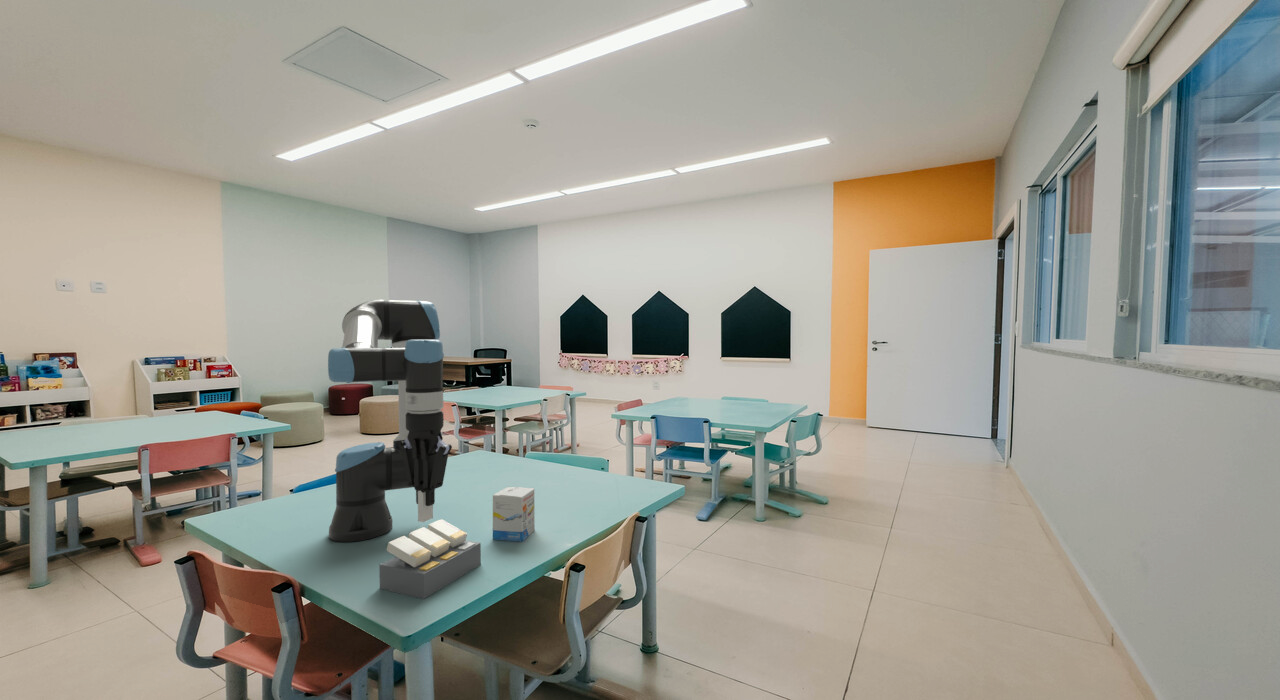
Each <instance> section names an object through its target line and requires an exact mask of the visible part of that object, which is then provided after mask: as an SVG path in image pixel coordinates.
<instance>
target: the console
mask: <svg viewBox="0 0 1280 700" xmlns="http://www.w3.org/2000/svg"><path fill="white" fill-rule="evenodd" d="M481 546H482V543H481V542H477V541H472V540H467V539H466V541H465V542H463V543H461V544H459V545H457V546H455V547H451V546H449V549H448V551H446V552H444V553H442V554H440V555H438V556H436V557H433V556H432V555H430V560H428V561H426V562H424V563H422V564H420V565H419V566H417V567H415V568H414V567H413V566H411V565H410V564H408V563H406V562H405V561H403V560H401V559H400V558H398V557H396V556H394V557H392V558H390V559H388V560H386V561H384V562H382V563H380V564H378V565H379V589H381V590H385V591H389V592H393V593H397V594H401V595H405V596H411V597H414V598H418V599H422V600H423V599H424V600H425V599H426V598H429V596H431V595H434V594H435V593H436V592H438V591H439V590H442V588H443V589H444V587H446V586H448V585H450V584H451V583H453V582H455V581H456V580H457V579H459V578H462V577H463V576H465V575H466V574H467V573H469V572H471V571H473V570H475V568H477V567H479V566H481V564H482V556H481V553H482V551H481V549H482V547H481Z"/></svg>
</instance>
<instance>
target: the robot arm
mask: <svg viewBox="0 0 1280 700" xmlns="http://www.w3.org/2000/svg"><path fill="white" fill-rule="evenodd" d="M439 320H440V319H439V316H438V311H437V307H436V306H435V304H434V303H433V302H431V301H425V300H418V299H417V300H406V299H405V300H401V299H400V300H397V299H396V300H395V299H373V300H369V301H368V300H367V301H366V302H363V303H360V304H358V305H356V306H354V307H352V308H351V309H349V310H348V312H346V313H345V315H344V317H343V319H342V323H341V330H342V332H343V334H344V335H343V340H342V345H341V347H335V348H331V349H330V350H329V351H328V354H327V355H328V356H327V373H328V379H329V380H330V381H331V382H333V383H346V384H350V383H351V384H352V383H370V382H371V383H372V382H394V381H395V382H398V383H397V384H398V388H397V389H398V435H397V436H396V437H395V438H394V439H393V442H392V445H393V446H391V447H386V445H385V443H384V442H382V441H380V442H379V441H378V442H368V443H363V444H357V445H354V446H351V447H348V448H345V449H343V450H341V451H340V452H339V453H337V456H336V458H335V459H336V460H335V461H336V463H335V469H334V472H336V473H335V475H336V476H335V479H336V480H335V483H336V484H335V485H336V486H335V491H336V495H335V496H336V497H335V498H336V499H335V500H336V501H335V503H336V506H335V510H334V514H333V517H332V520H331V523H330V525H329V527H328V539H330V540H331V541H334V542H341V543H350V542H359V541H360V542H361V541H366V540H369V539H374V538H378V537H380V536H382V535H385V534H387V533H388V532H390V531H391V530H392V529H393V517H392V516H391V512H390V509H389V507H388V503H387V501H386V491H394V490H401V489H403V490H404V489H410V488H411V489H412V488H414V490H415V502H416V505H417V522H421V523H425V522H427V521H429V520H432V519H434V505H435V502H436V501H435V500H436V496H435V495H436V493H435V491H436V489H438V488H441V487H442V486H444V485H443V484H444V480H445V475H446V470H447V469H446V468H447V463H448V457H449V454H450V452H451V450H452V449H453V446H452V444H451V443H448V444H446V442H445V441H444V440H443V435H442V432H441V431H442V429H443V428H444V412H443V410H442V409H444V386H443V385H444V380H443V379H444V357H445V354H444V349H443V342H442V341H441V340H440V337H441V332H440V321H439ZM378 340H384V341H391V347H379V341H378Z"/></svg>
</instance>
